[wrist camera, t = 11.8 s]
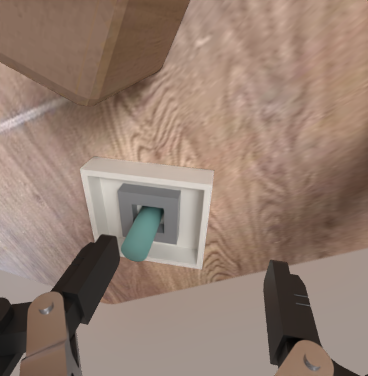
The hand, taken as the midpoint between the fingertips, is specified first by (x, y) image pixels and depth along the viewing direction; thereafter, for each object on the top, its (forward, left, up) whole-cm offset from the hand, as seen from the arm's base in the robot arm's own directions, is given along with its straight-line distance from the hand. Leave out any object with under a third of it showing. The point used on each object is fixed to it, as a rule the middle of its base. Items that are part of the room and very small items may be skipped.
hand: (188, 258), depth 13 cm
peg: (+9, +17, -25) cm, 32 cm away
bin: (+9, +17, -26) cm, 32 cm away
